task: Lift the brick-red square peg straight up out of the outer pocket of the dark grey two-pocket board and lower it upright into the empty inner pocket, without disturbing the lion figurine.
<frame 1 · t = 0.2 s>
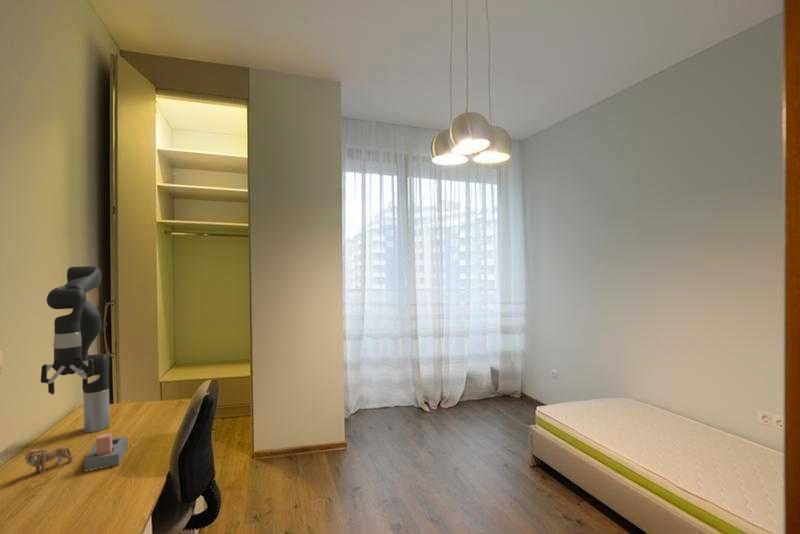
hand: (68, 391, 140), 28 cm above the table, tool pointing down, fingers open, 8 cm apart
peg: (104, 463, 145), resting in pocket board
pocket board: (107, 457, 150), on the table
lion figurine: (49, 469, 142), on the table
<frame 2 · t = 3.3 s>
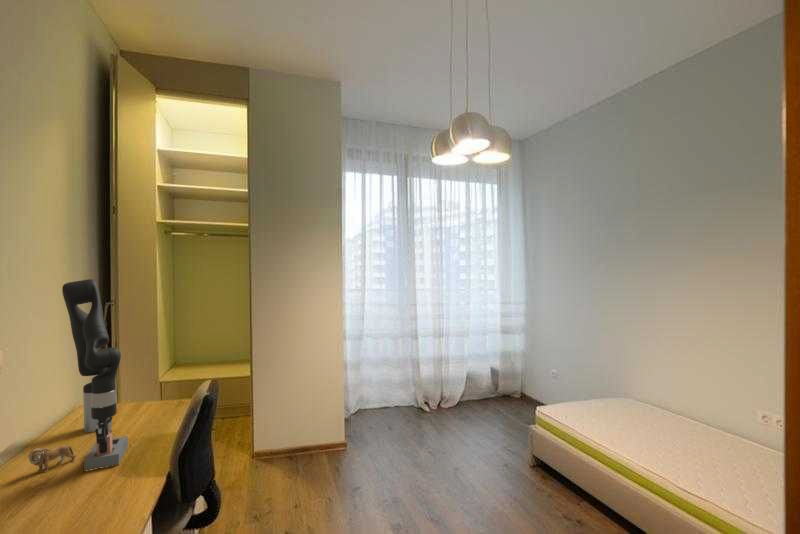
hand: (104, 449, 146), 5 cm above the table, tool pointing down, fingers closed on peg, 4 cm apart
peg: (104, 462, 145), resting in pocket board, touching gripper
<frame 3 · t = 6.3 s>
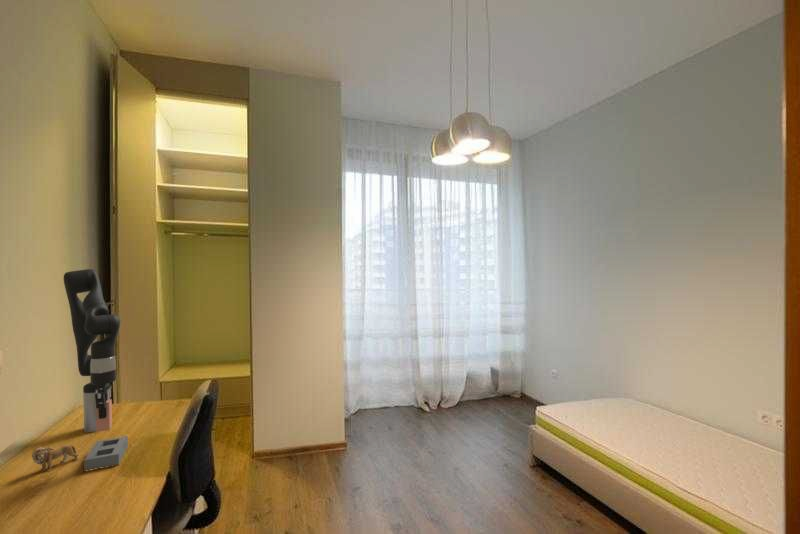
hand: (104, 415, 146), 17 cm above the table, tool pointing down, fingers closed on peg, 4 cm apart
peg: (104, 428, 146), point 12 cm above the table, touching gripper
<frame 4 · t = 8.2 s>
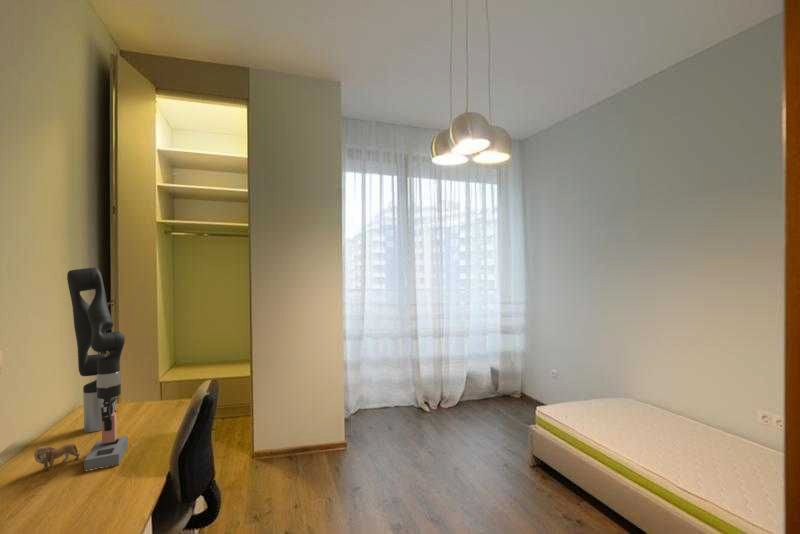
hand: (109, 428, 154), 10 cm above the table, tool pointing down, fingers closed on peg, 4 cm apart
peg: (109, 440, 153), point 5 cm above the table, touching gripper
when the fingers open (6 cm above the table, at t = 9.7 s): peg stays where it is, resting in pocket board.
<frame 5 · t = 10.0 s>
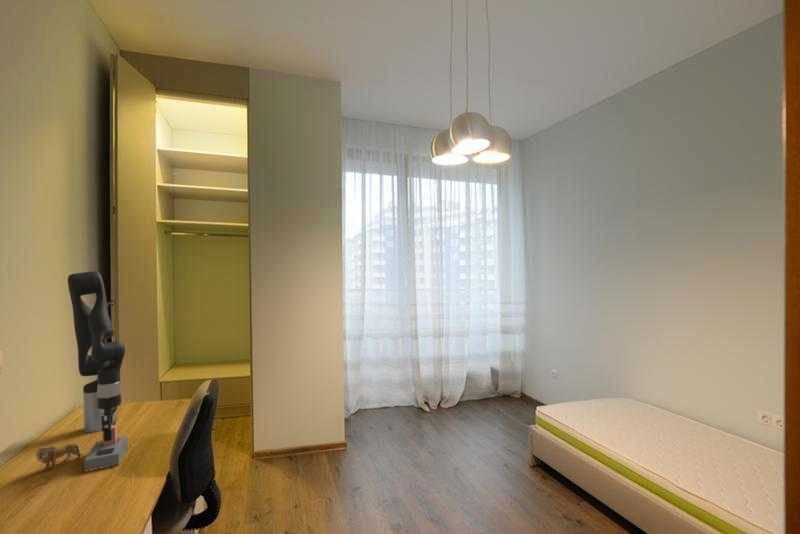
hand: (109, 437, 154), 6 cm above the table, tool pointing down, fingers open, 6 cm apart
peg: (110, 453, 154), resting in pocket board
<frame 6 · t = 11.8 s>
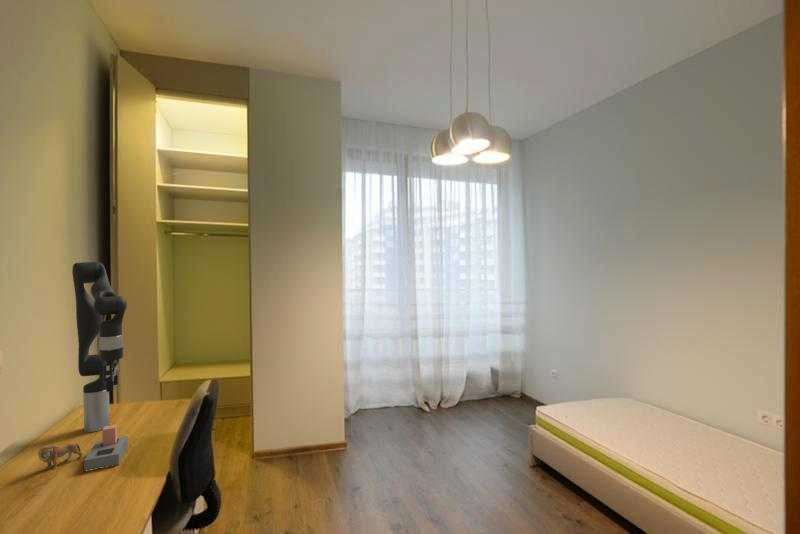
hand: (112, 388, 156), 24 cm above the table, tool pointing down, fingers open, 8 cm apart
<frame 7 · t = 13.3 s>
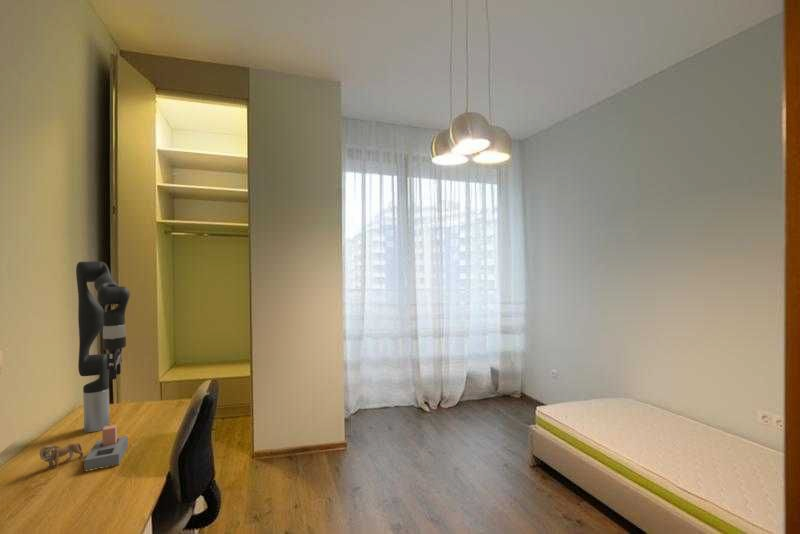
hand: (115, 376, 159), 28 cm above the table, tool pointing down, fingers open, 8 cm apart
at the end: peg 0.1 cm from the target spot on the pocket board, point 0.0 cm above the pocket board's base; peg tilted 0°; lion figurine moved 4.0 cm from its start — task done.
